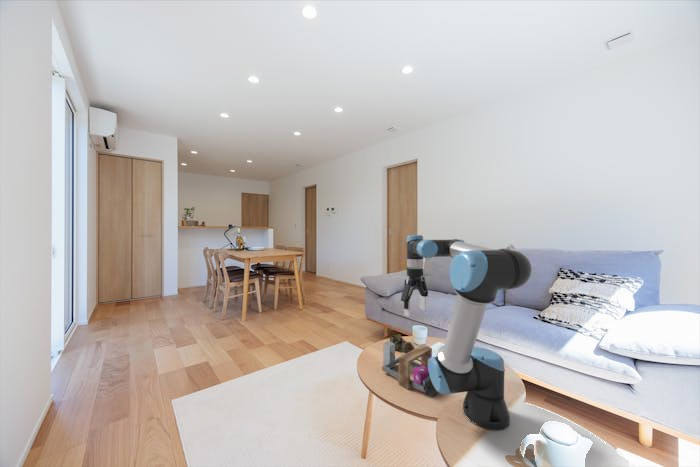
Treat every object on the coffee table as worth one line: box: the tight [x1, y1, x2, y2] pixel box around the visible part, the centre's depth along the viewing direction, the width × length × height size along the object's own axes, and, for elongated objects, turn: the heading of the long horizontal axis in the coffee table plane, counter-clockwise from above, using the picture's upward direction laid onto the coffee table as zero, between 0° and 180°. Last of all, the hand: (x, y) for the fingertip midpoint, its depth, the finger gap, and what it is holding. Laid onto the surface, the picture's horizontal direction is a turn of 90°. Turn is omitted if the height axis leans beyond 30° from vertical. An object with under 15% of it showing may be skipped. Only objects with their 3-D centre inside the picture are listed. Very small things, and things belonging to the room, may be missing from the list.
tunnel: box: [398, 344, 433, 391], centre depth 121 cm, size 5×18×12 cm, turn 132°
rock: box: [388, 333, 415, 353], centre depth 153 cm, size 13×10×10 cm
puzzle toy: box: [413, 366, 430, 385], centre depth 119 cm, size 6×6×6 cm
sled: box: [381, 340, 433, 393], centre depth 124 cm, size 26×15×11 cm, turn 42°
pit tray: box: [424, 385, 440, 398], centre depth 114 cm, size 4×12×1 cm, turn 132°
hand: (415, 312), depth 127 cm, fingers open, 13 cm apart
